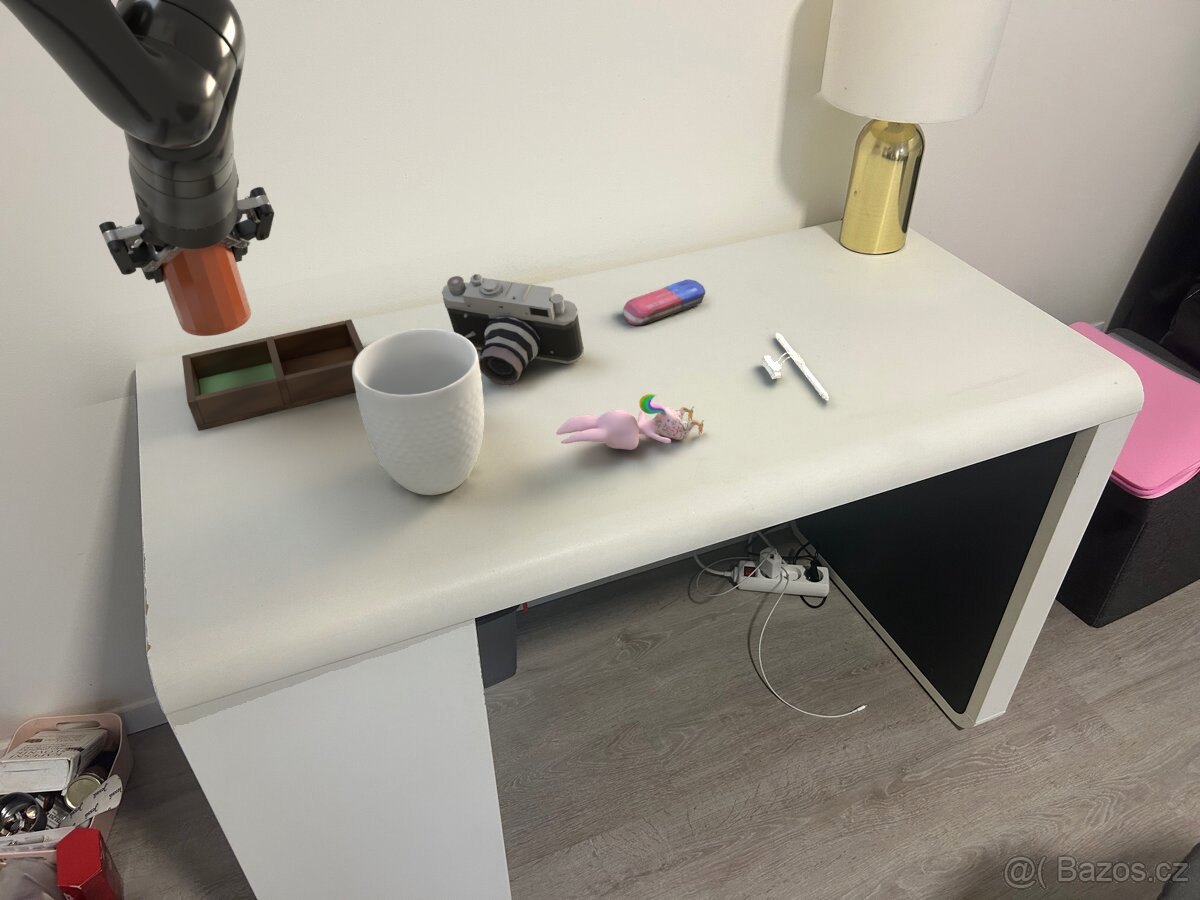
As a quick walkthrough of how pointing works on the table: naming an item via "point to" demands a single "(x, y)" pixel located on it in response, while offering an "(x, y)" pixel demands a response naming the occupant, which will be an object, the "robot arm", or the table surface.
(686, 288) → the eraser
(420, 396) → the mug
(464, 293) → the camera
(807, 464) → the table surface
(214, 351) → the holder
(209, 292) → the cup
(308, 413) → the table surface
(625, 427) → the rabbit figure
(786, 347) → the picture light
